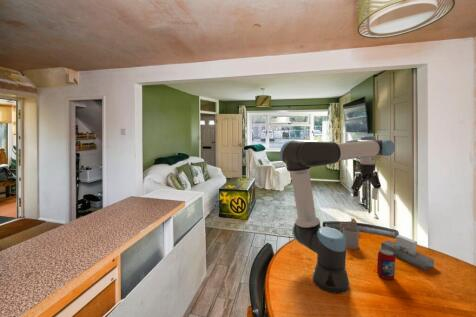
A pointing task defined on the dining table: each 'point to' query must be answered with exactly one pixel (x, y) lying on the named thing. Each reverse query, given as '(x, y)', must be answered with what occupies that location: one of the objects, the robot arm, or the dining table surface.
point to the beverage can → (386, 264)
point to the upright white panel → (406, 244)
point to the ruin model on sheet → (347, 224)
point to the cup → (351, 237)
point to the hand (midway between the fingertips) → (365, 200)
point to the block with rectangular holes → (409, 256)
